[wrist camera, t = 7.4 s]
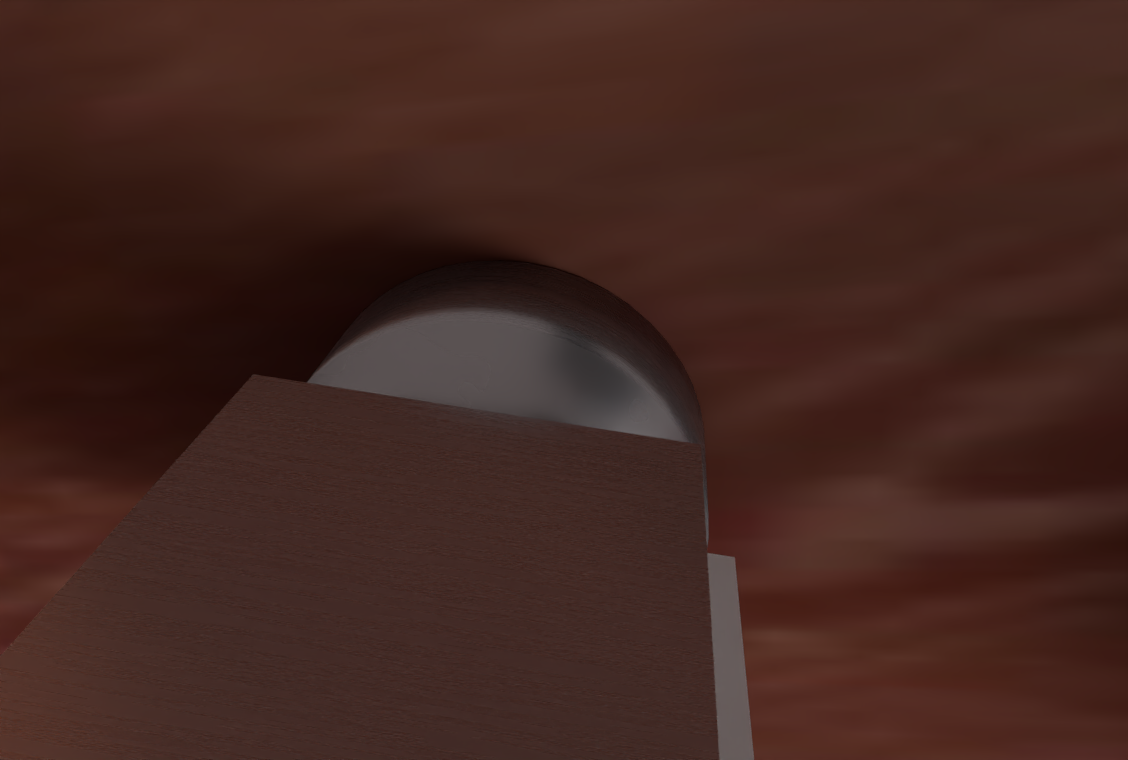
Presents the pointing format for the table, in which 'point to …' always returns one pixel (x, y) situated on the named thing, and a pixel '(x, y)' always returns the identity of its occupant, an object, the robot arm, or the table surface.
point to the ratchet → (519, 352)
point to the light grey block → (383, 596)
